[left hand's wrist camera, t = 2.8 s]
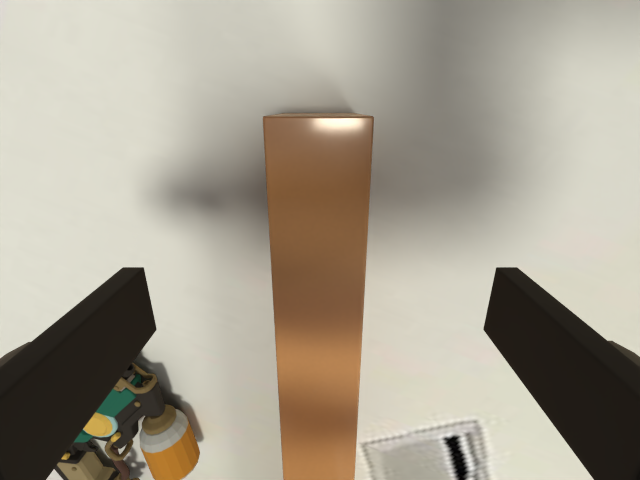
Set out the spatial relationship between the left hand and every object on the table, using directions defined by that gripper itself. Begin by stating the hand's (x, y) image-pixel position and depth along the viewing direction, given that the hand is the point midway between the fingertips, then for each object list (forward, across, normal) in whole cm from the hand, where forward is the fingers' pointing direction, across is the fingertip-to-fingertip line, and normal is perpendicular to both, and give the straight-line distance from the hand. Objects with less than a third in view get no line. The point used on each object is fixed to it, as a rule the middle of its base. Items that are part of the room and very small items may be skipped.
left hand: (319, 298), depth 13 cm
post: (+13, 0, -23) cm, 26 cm away
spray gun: (+13, -20, -22) cm, 32 cm away
